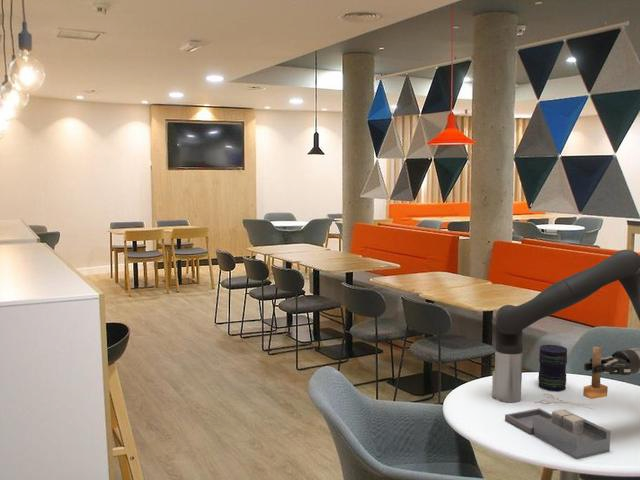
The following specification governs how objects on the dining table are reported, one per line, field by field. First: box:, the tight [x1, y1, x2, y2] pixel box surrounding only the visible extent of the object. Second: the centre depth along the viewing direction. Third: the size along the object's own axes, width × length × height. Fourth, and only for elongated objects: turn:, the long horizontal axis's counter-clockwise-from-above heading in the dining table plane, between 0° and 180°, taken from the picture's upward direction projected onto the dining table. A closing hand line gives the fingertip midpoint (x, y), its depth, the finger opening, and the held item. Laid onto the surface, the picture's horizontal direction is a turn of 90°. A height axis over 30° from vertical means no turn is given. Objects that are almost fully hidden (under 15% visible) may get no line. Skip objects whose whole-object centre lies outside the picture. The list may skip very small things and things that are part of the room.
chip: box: [563, 414, 585, 434], centre depth 186 cm, size 4×4×4 cm
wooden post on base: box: [582, 346, 609, 400], centre depth 189 cm, size 3×6×15 cm, turn 113°
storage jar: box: [537, 344, 568, 393], centre depth 234 cm, size 10×10×15 cm
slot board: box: [532, 409, 612, 460], centre depth 187 cm, size 18×12×6 cm
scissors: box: [533, 393, 594, 410], centre depth 219 cm, size 11×1×20 cm
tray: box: [504, 408, 552, 435], centre depth 201 cm, size 12×14×2 cm
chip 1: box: [551, 409, 572, 428], centre depth 190 cm, size 4×4×4 cm
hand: (589, 368), depth 188 cm, fingers closed on wooden post on base, 2 cm apart
